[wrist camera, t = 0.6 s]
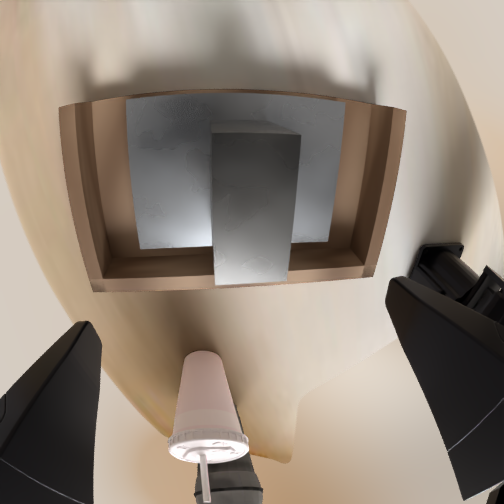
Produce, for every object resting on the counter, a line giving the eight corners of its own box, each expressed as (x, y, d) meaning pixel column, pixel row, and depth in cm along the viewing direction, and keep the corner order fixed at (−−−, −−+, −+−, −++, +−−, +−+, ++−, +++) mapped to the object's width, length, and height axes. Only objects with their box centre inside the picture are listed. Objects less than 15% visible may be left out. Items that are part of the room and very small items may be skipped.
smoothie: (157, 352, 25) (151, 496, 13) (218, 332, 24) (238, 489, 12) (190, 386, 28) (197, 508, 16) (245, 369, 28) (270, 498, 16)
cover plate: (336, 101, 15) (409, 112, 9) (321, 233, 20) (369, 298, 14) (131, 99, 13) (80, 103, 7) (143, 240, 18) (118, 315, 12)
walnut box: (376, 105, 16) (406, 110, 13) (352, 252, 22) (373, 276, 19) (83, 103, 14) (58, 107, 11) (106, 263, 19) (93, 292, 16)
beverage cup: (241, 390, 30) (273, 558, 13) (252, 416, 33) (280, 553, 16) (180, 399, 29) (190, 562, 12) (199, 424, 33) (214, 559, 16)
